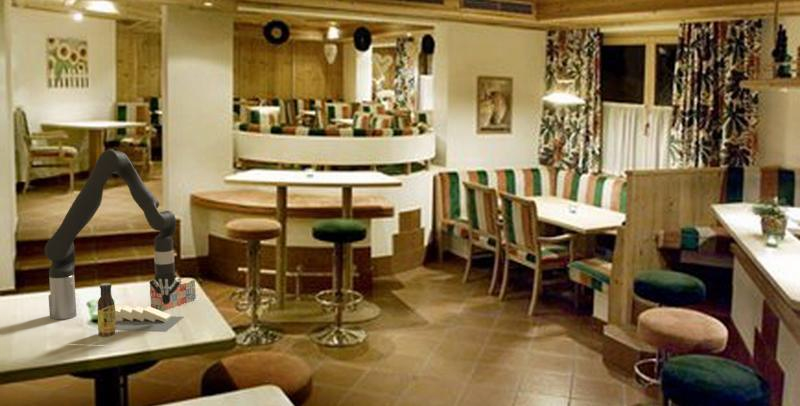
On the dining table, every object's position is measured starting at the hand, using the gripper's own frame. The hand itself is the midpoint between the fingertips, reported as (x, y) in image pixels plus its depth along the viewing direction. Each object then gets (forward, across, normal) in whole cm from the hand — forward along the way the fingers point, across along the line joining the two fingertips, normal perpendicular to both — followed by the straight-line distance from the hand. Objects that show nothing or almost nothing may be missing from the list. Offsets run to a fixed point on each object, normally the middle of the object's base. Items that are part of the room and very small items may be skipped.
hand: (166, 303), depth 304 cm
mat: (+8, +8, +4) cm, 11 cm away
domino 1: (+6, +18, 0) cm, 19 cm away
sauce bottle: (+8, +16, +18) cm, 26 cm away
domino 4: (+6, +4, 0) cm, 8 cm away
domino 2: (+6, +13, 0) cm, 15 cm away
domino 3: (+6, +9, 0) cm, 11 cm away
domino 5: (+6, 0, 0) cm, 6 cm away
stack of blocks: (+8, +6, -22) cm, 25 cm away
